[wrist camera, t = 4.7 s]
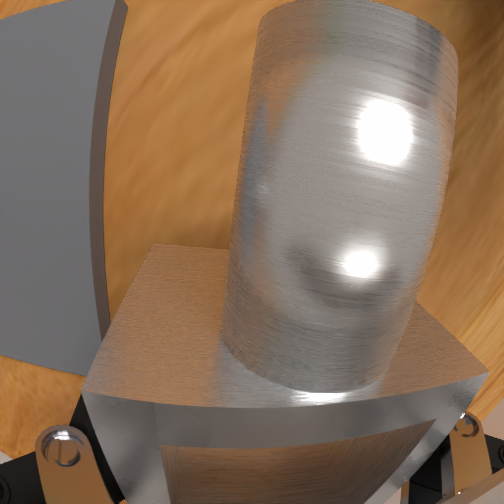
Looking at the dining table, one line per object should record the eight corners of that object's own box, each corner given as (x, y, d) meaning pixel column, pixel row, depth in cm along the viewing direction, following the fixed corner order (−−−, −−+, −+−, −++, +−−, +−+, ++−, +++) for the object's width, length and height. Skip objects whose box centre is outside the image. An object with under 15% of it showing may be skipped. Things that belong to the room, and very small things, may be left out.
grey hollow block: (321, 406, 12) (365, 519, 7) (159, 404, 11) (146, 534, 5) (398, 114, 8) (559, 118, 3) (170, 72, 7) (95, -41, 2)
